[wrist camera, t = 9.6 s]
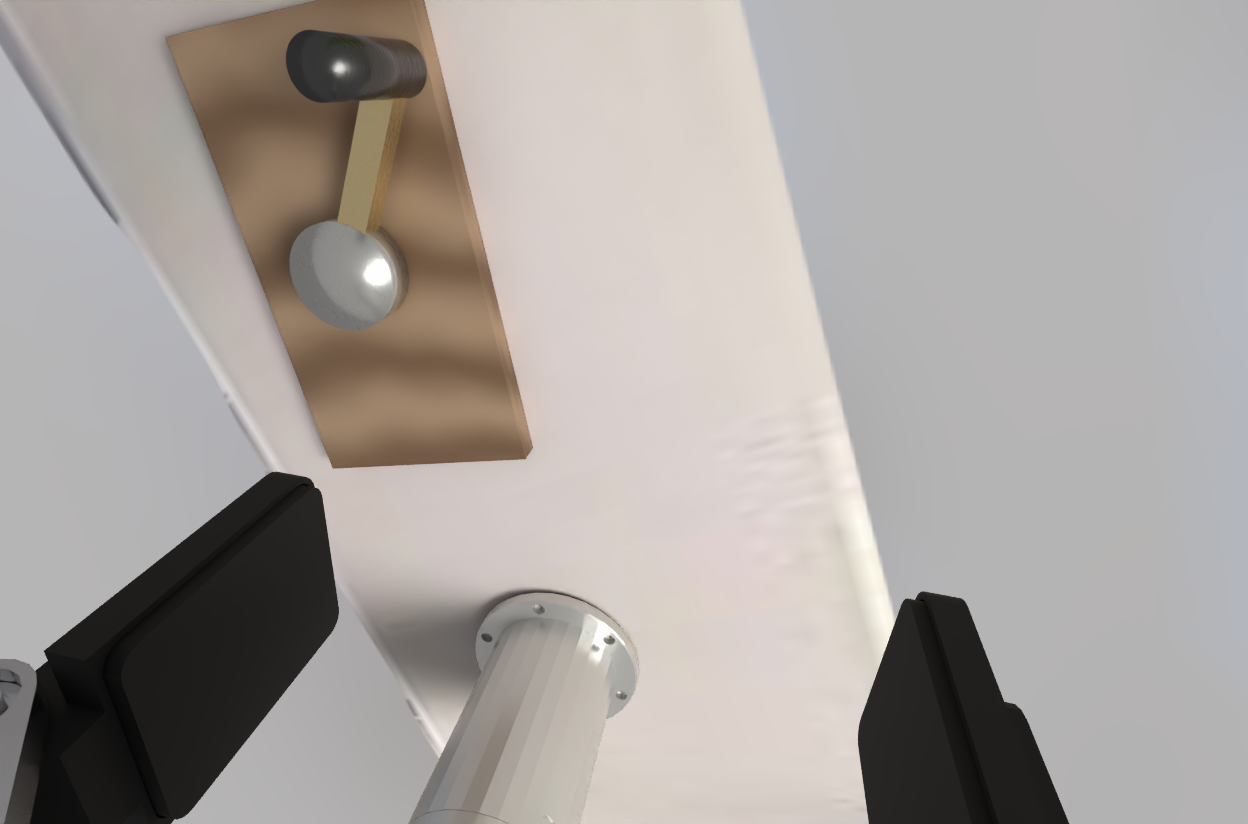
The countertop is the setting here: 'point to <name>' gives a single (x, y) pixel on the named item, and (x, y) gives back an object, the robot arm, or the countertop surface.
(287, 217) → the brown flat rectangular board
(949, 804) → the robot arm
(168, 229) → the countertop surface
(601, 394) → the countertop surface
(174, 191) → the countertop surface
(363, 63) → the ice cream scoop
